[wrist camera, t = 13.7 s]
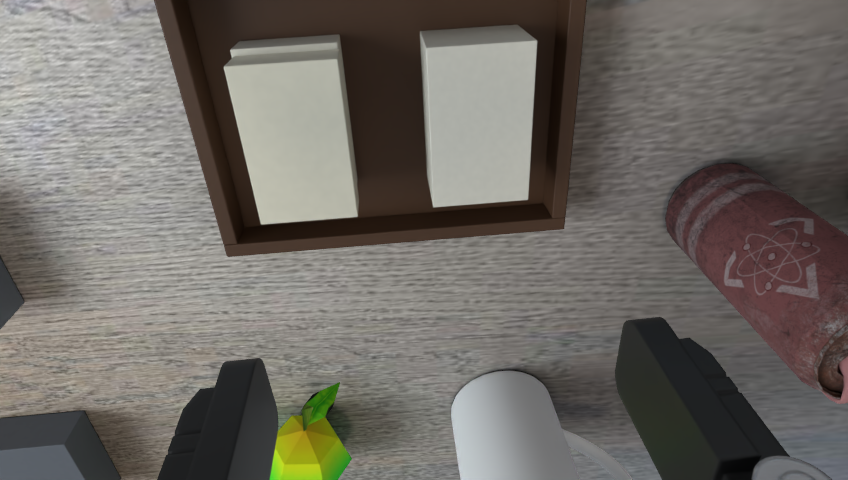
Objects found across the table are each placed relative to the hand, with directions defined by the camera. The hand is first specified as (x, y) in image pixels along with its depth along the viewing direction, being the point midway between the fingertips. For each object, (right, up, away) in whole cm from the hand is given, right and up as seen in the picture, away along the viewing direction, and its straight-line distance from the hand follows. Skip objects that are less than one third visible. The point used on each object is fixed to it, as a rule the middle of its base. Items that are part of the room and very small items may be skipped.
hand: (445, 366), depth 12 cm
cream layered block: (-7, +10, +17) cm, 21 cm away
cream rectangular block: (+2, +10, +17) cm, 20 cm away
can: (+18, +5, +23) cm, 29 cm away
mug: (+8, -10, +31) cm, 34 cm away
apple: (-9, -11, +30) cm, 33 cm away
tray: (-3, +10, +18) cm, 21 cm away
